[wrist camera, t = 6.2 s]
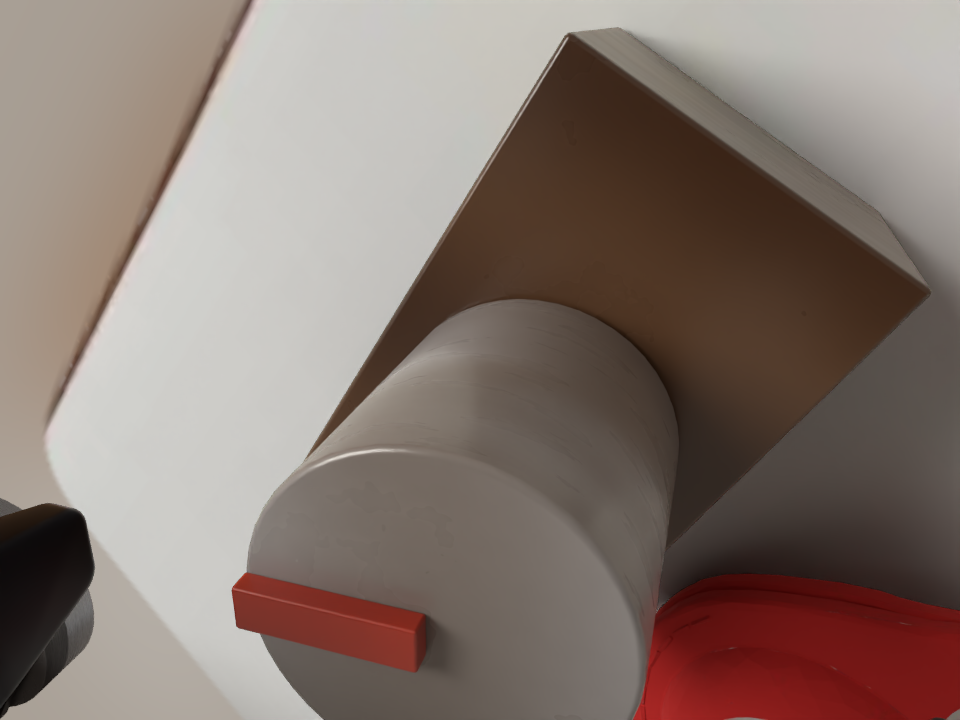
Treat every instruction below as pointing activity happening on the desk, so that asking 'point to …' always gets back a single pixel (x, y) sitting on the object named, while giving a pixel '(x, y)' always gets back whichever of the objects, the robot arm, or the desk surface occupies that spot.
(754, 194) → the wooden block
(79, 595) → the robot arm
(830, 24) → the desk surface
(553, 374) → the knob
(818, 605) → the tracker holder
